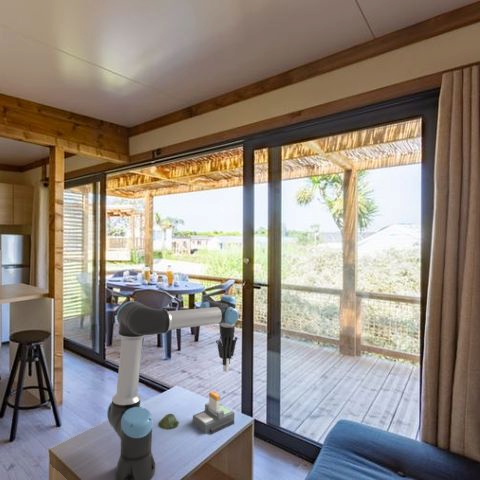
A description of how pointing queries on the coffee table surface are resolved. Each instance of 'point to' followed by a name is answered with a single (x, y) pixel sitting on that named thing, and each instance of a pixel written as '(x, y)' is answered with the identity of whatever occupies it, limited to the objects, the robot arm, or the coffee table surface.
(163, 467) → the coffee table surface
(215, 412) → the lever
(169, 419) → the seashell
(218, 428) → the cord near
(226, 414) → the stepped grey box
